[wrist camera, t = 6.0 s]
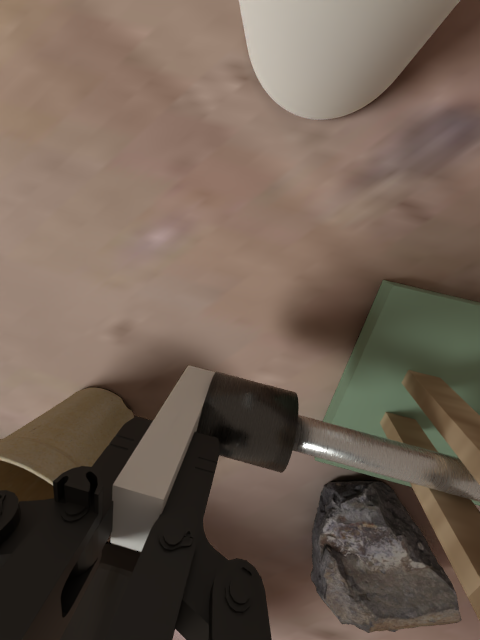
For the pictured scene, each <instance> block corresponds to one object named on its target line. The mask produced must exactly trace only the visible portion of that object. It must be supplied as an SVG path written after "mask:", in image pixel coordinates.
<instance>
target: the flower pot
mask: <svg viewBox="0 0 480 640" xmlns="http://www.w3.org/2000/svg"><path fill="white" fill-rule="evenodd" d="M133 418H134V415H133V412H132V411H131V410H130V409H128V408H127V407H126V406H125V404H124V402H123V401H122V398H121V397H119V396H118V395H116V394H114V393H112V392H110V391H108V390H105V389H101V388H93V387H92V388H86V389H83V390H80V391H78V392H76V393H74V394H73V395H72V396H70V397H69V398H67V399H66V400H64V401H63V402H61V403H60V404H58V405H56V406H55V407H53V408H52V409H50V410H49V411H47V412H46V413H44V414H42V415H41V416H39V417H38V418H36V419H34V420H33V421H31V422H30V423H28V424H26V425H25V426H23V427H22V428H20V429H18V430H17V431H15V432H14V433H12V434H11V435H9V436H7V437H6V438H4V439H0V490H8V491H10V492H13V493H15V495H16V496H17V498H18V500H19V501H33V500H46V499H52V498H54V491H53V481H54V480H55V479H56V478H57V477H58V476H60V475H61V474H62V473H64V472H66V471H68V470H70V469H72V468H76V467H80V466H88V467H92V466H93V464H94V463H95V462H96V460H97V459H98V458H99V456H100V455H101V454H102V452H103V451H104V450H105V448H106V447H107V446H109V443H110V442H111V441H112V439H113V438H114V437H115V436H116V434H117V433H118V431H119V430H120V429H121V428H122V426H123V425H124V424H125V423H126V422H128V421H129V420H131V419H133Z"/></svg>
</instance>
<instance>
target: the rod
mask: <svg viewBox="0 0 480 640" xmlns="http://www.w3.org/2000/svg"><path fill="white" fill-rule="evenodd" d="M196 432H198V433H201V434H205V435H208V436H212V437H216V438H218V441H219V446H220V453H219V455H220V456H224V457H227V458H231V459H234V460H238V461H242V462H245V463H249V464H252V465H256V466H259V467H263V468H267V469H270V470H274V471H277V472H281V473H282V472H283V471H284V470H285V469H286V467H287V465H288V462H289V459H290V456H291V453H292V450H293V451H296V452H300V453H303V454H307V455H311V456H314V457H318V458H322V459H325V460H329V461H333V462H336V463H340V464H344V465H347V466H351V467H354V468H358V469H362V470H365V471H369V472H373V473H376V474H380V475H384V476H387V477H391V478H395V479H398V480H402V481H405V482H409V483H413V484H416V485H420V486H424V487H427V488H431V489H435V490H438V491H442V492H446V493H449V494H453V495H456V496H460V497H464V498H467V499H471V500H475V501H478V502H480V485H479V484H478V482H477V481H476V480H475V478H474V477H473V476H472V475H471V473H470V472H469V471H468V469H467V468H466V467H465V465H464V464H463V463H462V461H461V460H460V459H459V458H458V457H454V456H450V455H446V454H443V453H439V452H435V451H431V450H428V449H424V448H420V447H416V446H413V445H409V444H405V443H401V442H398V441H394V440H390V439H386V438H383V437H379V436H375V435H372V434H368V433H364V432H360V431H357V430H353V429H349V428H345V427H342V426H338V425H334V424H330V423H327V422H323V421H319V420H315V419H312V418H308V417H304V416H300V415H298V397H297V394H296V393H295V392H292V391H288V390H284V389H281V388H277V387H273V386H269V385H265V384H262V383H258V382H254V381H250V380H246V379H243V378H239V377H235V376H231V375H227V374H223V373H220V372H215V374H214V376H213V378H212V380H211V383H210V386H209V389H208V392H207V395H206V398H205V401H204V404H203V408H202V411H201V415H200V419H199V423H198V427H197V431H196Z"/></svg>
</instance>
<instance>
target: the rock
mask: <svg viewBox="0 0 480 640" xmlns="http://www.w3.org/2000/svg"><path fill="white" fill-rule="evenodd" d="M312 532H313V535H312V547H313V550H312V553H313V554H312V562H313V569H312V572H311V580H312V582H313V583H314V584H315V586H316V590H317V593H318V594H319V596H320V597H321V599H322V600H323V601H324V602H325V603H326V604H327V606H328V607H329V608H330V609H331V610H332V612H333V613H334V614H335V616H336V617H337V618H338V619H339V621H340V622H341V623H342V624H346V623H347V624H352V625H355V626H356V627H358V628H359V629H362V630H365V631H366V632H368V633H370V632H373V631H384V630H389V631H393V632H395V631H397V630H399V629H404V628H415V627H419V626H432V625H443V624H450V623H457V622H459V621H461V616H460V612H459V607H458V601H457V596H456V592H455V590H454V588H453V585H452V583H451V582H450V580H449V578H448V577H447V575H446V573H445V572H444V570H443V568H442V567H441V566H440V565H439V564H438V562H437V560H436V558H435V556H434V555H433V553H432V552H431V549H430V547H429V546H428V543H427V541H426V539H425V537H424V536H423V534H422V532H421V531H420V529H419V528H418V526H417V525H416V524H415V523H414V522H413V520H412V519H411V517H410V516H409V514H408V512H407V511H406V509H405V507H404V506H403V505H402V504H401V502H400V501H399V499H398V498H397V496H396V494H395V492H394V490H393V489H391V488H390V487H389V486H388V485H386V484H384V483H383V482H369V481H351V482H330V483H328V484H327V485H324V488H323V490H322V492H321V496H320V501H319V507H318V508H317V514H316V518H315V520H314V528H313V530H312Z"/></svg>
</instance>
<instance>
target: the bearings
mask: <svg viewBox="0 0 480 640" xmlns="http://www.w3.org/2000/svg"><path fill="white" fill-rule="evenodd" d="M401 383H402V384H403V386H404V387H405V388H406V390H407V391H408V392H409V393H410V395H411V396H412V397H413V399H414V400H415V401H416V403H417V404H418V405H419V407H420V408H421V409H422V410H423V412H424V413H425V414H426V416H427V417H428V418H429V420H430V421H431V422H432V424H433V425H434V426H435V427H436V429H437V430H438V431H439V433H440V434H441V435H442V437H443V438H444V439H445V441H446V442H447V443H448V444H449V446H450V447H451V448H452V450H453V451H454V452H455V454H456V455H457V456H458V458H459V459H460V460H461V461H462V463H463V464H464V465H465V467H466V468H467V469H468V471H469V472H470V473H471V475H472V476H473V477H474V478H475V480H476V481H477V482H478V484H479V485H480V415H479V414H478V413H477V412H475V411H474V410H473V409H472V408H471V407H470V406H469V405H468V404H467V403H466V402H465V401H464V400H463V399H462V398H461V397H460V396H459V395H458V394H457V393H456V392H455V391H454V390H453V389H452V388H451V387H449V386H448V385H447V384H446V383H445V382H444V381H443V380H442V379H441V378H439V377H435V376H431V375H427V374H423V373H419V372H415V371H411V370H408V371H407V373H406V375H405V377H404V379H403V381H402V382H401ZM380 424H381V426H382V428H383V430H384V432H385V434H386V436H387V438H388V439H390V440H394V441H398V442H401V443H405V444H409V445H413V446H416V447H420V448H424V449H428V450H431V451H435V452H438V451H437V450H436V448H435V447H434V445H433V444H432V443H431V441H430V440H429V438H428V437H427V435H426V434H425V432H424V431H423V430H422V428H421V427H420V425H419V424H418V422H417V421H416V420H415V419H411V418H408V417H404V416H400V415H396V414H392V413H388V412H385V414H384V416H383V418H382V420H381V422H380ZM410 484H411V486H412V488H413V490H414V492H415V494H416V496H417V498H418V500H419V502H420V504H421V506H422V508H423V510H424V512H425V514H426V516H427V518H428V520H429V522H430V524H431V526H432V528H433V530H434V532H435V534H436V536H437V538H438V540H439V541H440V543H441V545H442V547H443V549H444V551H445V553H446V555H447V557H448V559H449V561H450V563H451V565H452V567H453V569H454V571H455V573H456V575H457V577H458V579H459V581H460V583H461V585H462V587H463V589H464V591H465V593H466V595H467V597H468V599H469V601H470V603H471V605H472V607H473V609H474V611H475V613H476V615H477V617H478V619H479V621H480V512H479V510H478V509H477V507H476V506H475V505H474V503H473V502H472V500H471V499H467V498H464V497H460V496H456V495H453V494H449V493H446V492H442V491H438V490H435V489H431V488H427V487H424V486H420V485H416V484H413V483H410Z"/></svg>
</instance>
